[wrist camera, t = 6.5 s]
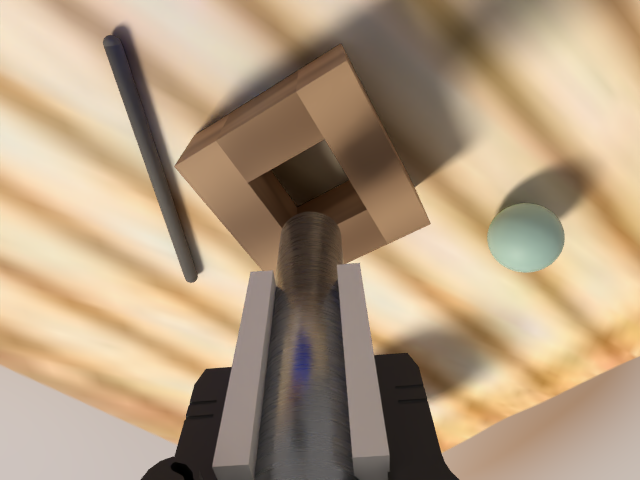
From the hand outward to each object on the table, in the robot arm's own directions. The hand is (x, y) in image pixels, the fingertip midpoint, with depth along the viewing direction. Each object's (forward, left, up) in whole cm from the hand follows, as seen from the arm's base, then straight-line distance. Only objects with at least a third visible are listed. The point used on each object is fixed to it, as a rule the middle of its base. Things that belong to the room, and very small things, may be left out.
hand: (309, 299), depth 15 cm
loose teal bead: (+5, +12, -11) cm, 17 cm away
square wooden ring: (0, 0, -11) cm, 11 cm away
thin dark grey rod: (0, -9, -11) cm, 14 cm away
